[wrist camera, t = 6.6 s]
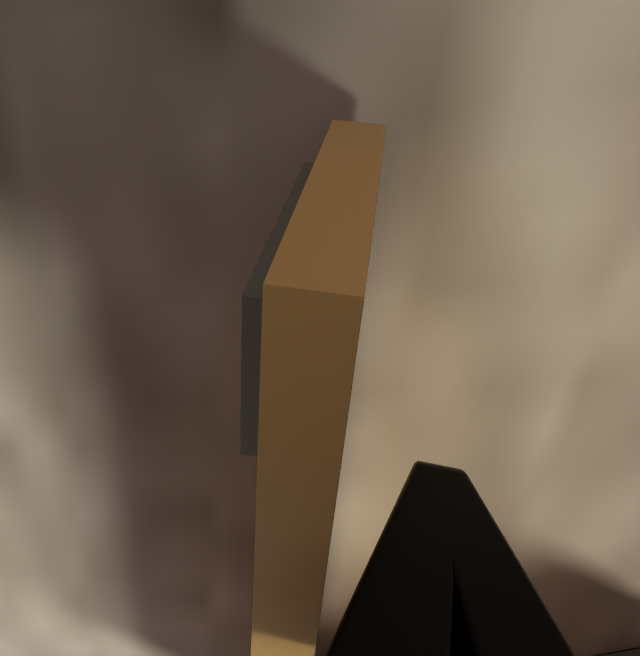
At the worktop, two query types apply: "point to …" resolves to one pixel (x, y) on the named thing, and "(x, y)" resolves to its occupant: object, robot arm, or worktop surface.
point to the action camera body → (626, 653)
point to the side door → (305, 378)
